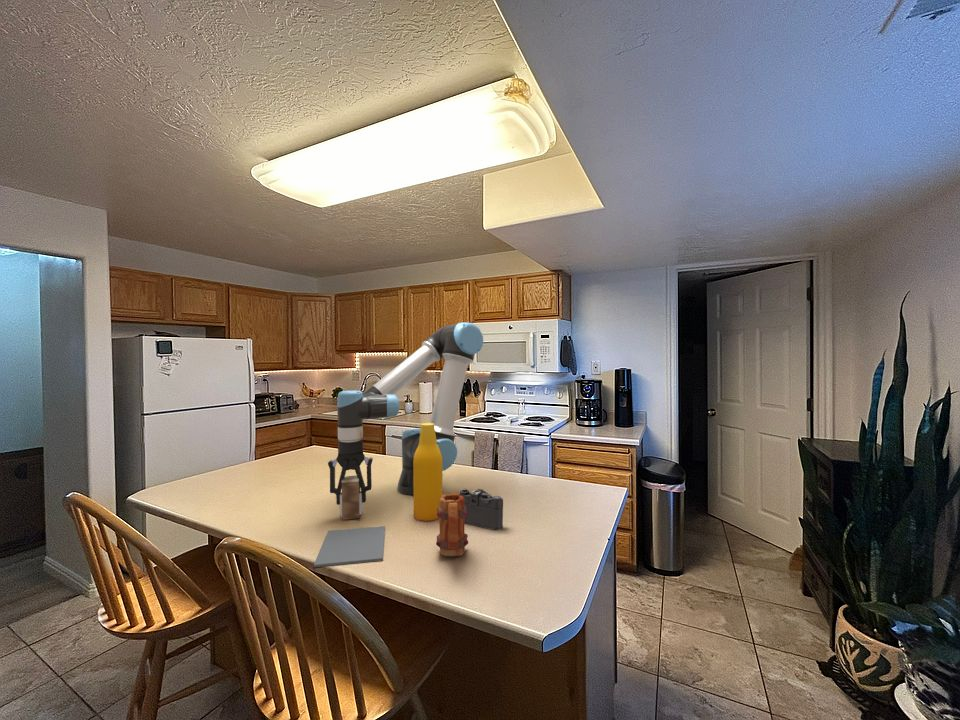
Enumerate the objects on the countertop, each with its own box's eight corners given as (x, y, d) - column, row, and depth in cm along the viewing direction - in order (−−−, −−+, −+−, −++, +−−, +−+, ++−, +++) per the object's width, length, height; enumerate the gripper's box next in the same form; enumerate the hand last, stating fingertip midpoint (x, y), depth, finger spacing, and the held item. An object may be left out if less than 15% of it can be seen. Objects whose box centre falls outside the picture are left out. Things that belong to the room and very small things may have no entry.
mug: (436, 545, 109) (436, 488, 109) (467, 543, 109) (466, 487, 109) (435, 573, 94) (434, 508, 94) (470, 571, 95) (470, 507, 95)
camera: (512, 518, 127) (512, 486, 127) (498, 531, 117) (498, 497, 117) (472, 511, 133) (471, 480, 133) (455, 523, 123) (455, 490, 123)
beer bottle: (407, 518, 127) (407, 425, 127) (422, 508, 135) (422, 421, 135) (434, 523, 123) (433, 427, 123) (447, 512, 132) (447, 422, 132)
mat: (385, 527, 120) (385, 525, 120) (382, 560, 100) (382, 558, 100) (328, 532, 117) (328, 530, 117) (313, 567, 97) (313, 564, 97)
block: (360, 512, 132) (359, 475, 132) (359, 518, 127) (358, 479, 127) (344, 513, 131) (343, 476, 131) (342, 519, 126) (341, 480, 126)
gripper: (380, 436, 134) (381, 506, 134) (322, 439, 131) (323, 511, 131) (379, 440, 127) (380, 515, 127) (317, 443, 123) (318, 520, 123)
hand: (351, 513), depth 129 cm, fingers closed on block, 5 cm apart
